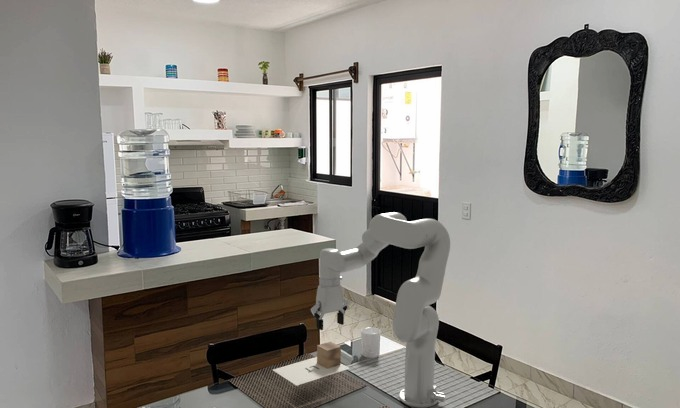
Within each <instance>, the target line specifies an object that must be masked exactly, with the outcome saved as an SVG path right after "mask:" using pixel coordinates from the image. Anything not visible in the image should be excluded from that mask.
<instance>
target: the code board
mask: <svg viewBox="0 0 680 408" xmlns="http://www.w3.org/2000/svg"><path fill="white" fill-rule="evenodd" d="M349 369H350V367H348V366H347V365H345V364H343V363H341V365H338V366H335V367H331V368H328V369H326V368H325V367H323V366H321V365H319V364H318V363H317V356H315V357H312V358H308V359H304V360H301V361H297V362H295V363H291V364H287V365H285V366H280V367H277V368H273V369H272V371H274V372H275V373H276V374H278V375H280V376H281V377H283V378H284V379H286V381H288V382H290V383H292V384H293V385H294V386H296V387H297V386H300V385H303V384H307V383H310V382H312V381H315V380H319V379H321V378H325V377H328V376H331V375H334V374H337V373H341V372H343V371H346V370H349Z"/></svg>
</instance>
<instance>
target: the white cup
mask: <svg viewBox="0 0 680 408" xmlns="http://www.w3.org/2000/svg"><path fill="white" fill-rule="evenodd" d="M381 332H382V330H381V329H380V328H378V327H371V326H370V327H369V326H368V327H362V328H361V330H360V337H361V338H360V344H361V355H362V357H364V358H367V359H373V358H375V359H376V358H377V357H379V354H380V345H381V337H382V336H381V335H382V334H381Z"/></svg>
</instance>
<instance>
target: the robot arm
mask: <svg viewBox="0 0 680 408" xmlns="http://www.w3.org/2000/svg"><path fill="white" fill-rule="evenodd" d="M450 238H451V237H450V234H449V232H448V230H447V228H446V227H445V225H443V223H442V222H440V221H439V220H436V219H435V218H422V219H416V220H411V221H408V220H407V217H406V216H405V215H404V214H402V213H401V212H395V211H393V212H385V213H380V214H376V215H374V217H372V219H371V220H370V222H369V224H368V229H366V230H365V231H363V233H362V236H361V241H362V242H361V243H360V244H359V245H357V246H356V247H354V248H350V249H346V250H342V251H340V250H339V249H337V248H332V247H329V248H328V247H327V248H322V249H321V250H320V251H319V285H318V286H317V289H316V296H315V305H313V306H312V307H311V308H310V311H311V313H312V314H311V315H312V316H313V317H314V319H316V323H315V324H316V329H318V330H320V331H323V330H324V319H323V317H324V316H325V314H330V313H334V312H335V313H336V312H337V313H336V317H337V318H336V319H337V320H336V323H337V324H339V325H341V326H343V325H344V323H345V315H346V311H347V309H348V306H349V304H350V301H349V300H347V299H345V298H344V294H343V287H342V284H341V281H343V278H342V276H341V274H342V273H346V272H351V271H353V270H358V269H361V268H363V267H364V266H366V265H367V264H369V263H370V262H372V261H374V260H375V258H377V257H378V255H379V253H380V252H381V251H382V250H383V249H385V248H386V247H388V246H389V245H393V246H395V247H399V248H403V249H408V250H412V249H413V250H414V249H418V248H422V247H424V251H423V252H422V254H421V256H420V258H419V261H418V267H417V272H416V275H415V277H413V278H410V279H408V280H406V281H404V282H403V283H402V284H401V285H400V287H399V289H398V292H397V294H396V300H395V307H394V310H393V311H394V312H393V317H392V324H391V325H392V331H393V332H392V333H393V334H394V336H395V337H396V338H397V340H398V341H401V342H402V343H405V358H404V362H405V363H404V388H403V389H402V390H400V392H399V393H398V395H399V396H398V397H399V400H400V401H401V402H402V403H404V404H405V405H406V406H410V407H412V408H431V407H433V406H435V405H436V404H437V403H438V401H439V402H442V403H445V402H446V396H445V393H444V392H441V391H438V390H437V385H435V384H434V383H435V382H434V381H435V363H436V362H435V360H436V359H435V357H436V343H437V336H438V331H439V326H440V325H439V324H440V321H439V320H440V318H439V314H438V312H437V311H436V309H435V308H433V307H432V306H431V305H432V304H435V303H437V301H439V299H440V298H441V295H442V289H443V283H444V280H445V279H444V278H445V275H446V268H447V264H448V263H447V262H448V259H449V255H450V251H451V239H450Z"/></svg>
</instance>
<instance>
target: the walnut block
mask: <svg viewBox="0 0 680 408" xmlns="http://www.w3.org/2000/svg"><path fill="white" fill-rule="evenodd" d="M316 347H317V349H316V357H317V363H318V364H319V365H321V366H323V367H325V368H326V369H328V368H331V367H335V366H338V365H341V364H342V363H341V361H342V360H341V358H342V357H341V356H342V353H341V351H342V347H341V346H340V345H338V344H336V343H334V342H332V341H329V342H325V343H321V344H317V345H316Z"/></svg>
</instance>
